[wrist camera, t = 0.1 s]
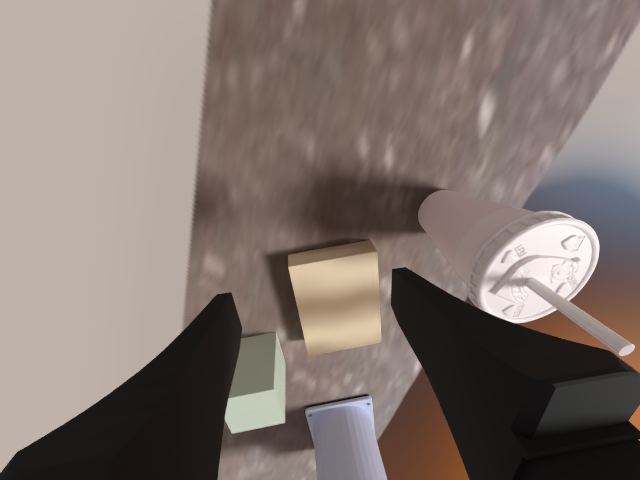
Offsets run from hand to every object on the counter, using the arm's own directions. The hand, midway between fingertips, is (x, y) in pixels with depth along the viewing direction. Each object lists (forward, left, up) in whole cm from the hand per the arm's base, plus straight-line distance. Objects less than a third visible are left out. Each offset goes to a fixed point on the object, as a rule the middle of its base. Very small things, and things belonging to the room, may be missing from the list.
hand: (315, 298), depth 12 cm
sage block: (-13, +7, -10) cm, 18 cm away
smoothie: (-1, -11, -10) cm, 15 cm away
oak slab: (-8, -2, -10) cm, 13 cm away
